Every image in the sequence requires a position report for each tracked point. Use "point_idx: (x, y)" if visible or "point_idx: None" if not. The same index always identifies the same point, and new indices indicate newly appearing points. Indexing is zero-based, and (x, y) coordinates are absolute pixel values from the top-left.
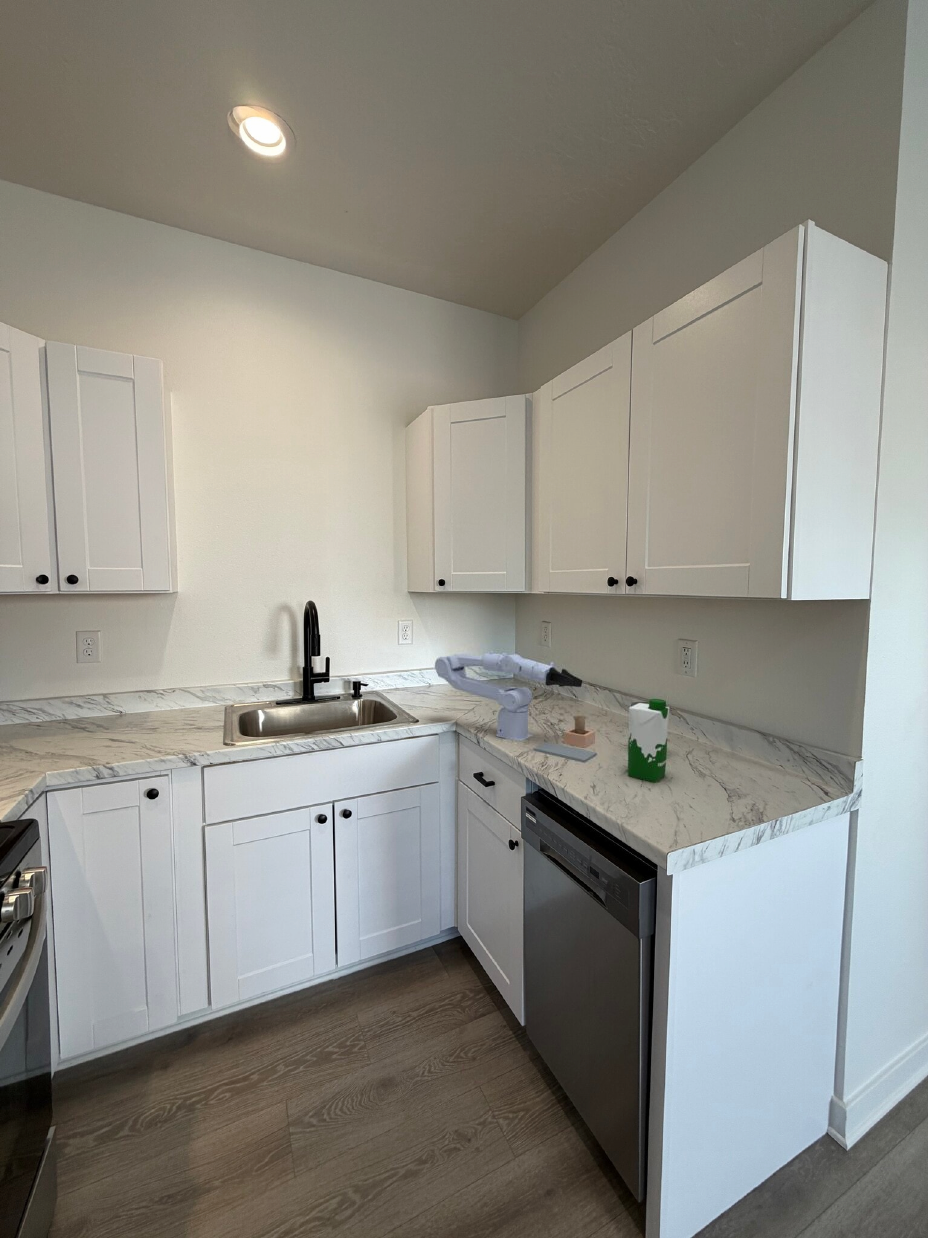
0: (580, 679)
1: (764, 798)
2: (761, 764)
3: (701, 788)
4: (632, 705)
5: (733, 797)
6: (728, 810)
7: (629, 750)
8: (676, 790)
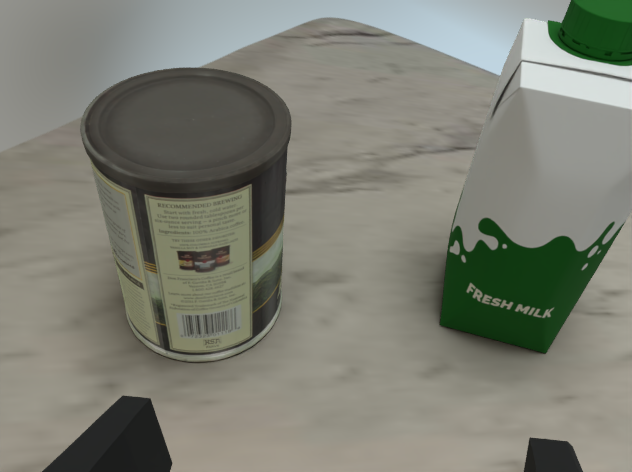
0: (120, 415)
1: (470, 103)
2: None
3: None
4: (220, 175)
5: None
6: None
7: (570, 286)
8: None
